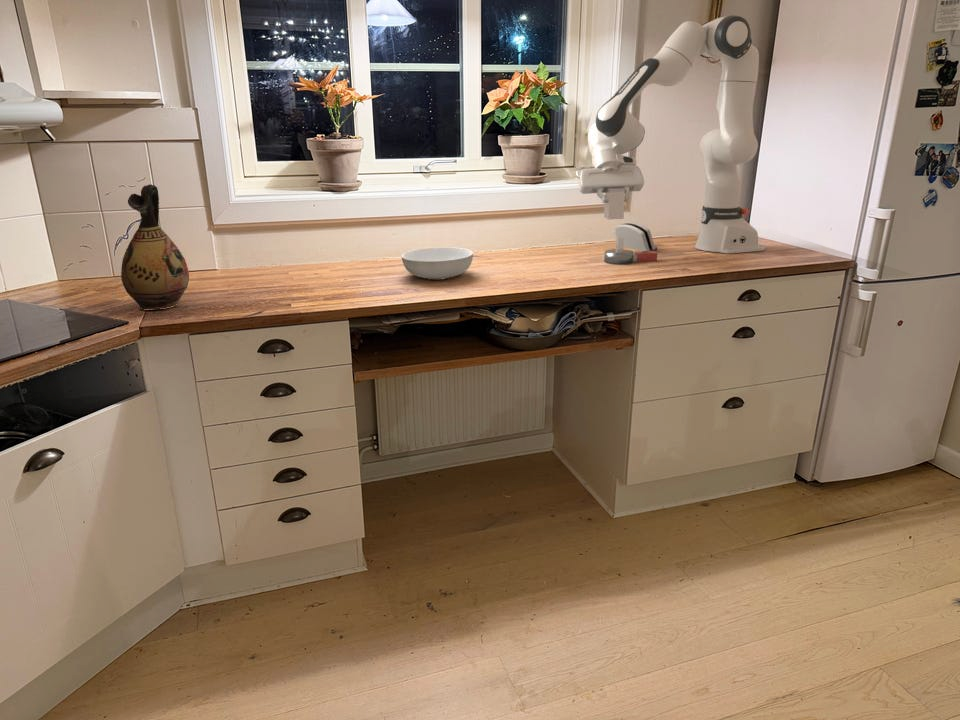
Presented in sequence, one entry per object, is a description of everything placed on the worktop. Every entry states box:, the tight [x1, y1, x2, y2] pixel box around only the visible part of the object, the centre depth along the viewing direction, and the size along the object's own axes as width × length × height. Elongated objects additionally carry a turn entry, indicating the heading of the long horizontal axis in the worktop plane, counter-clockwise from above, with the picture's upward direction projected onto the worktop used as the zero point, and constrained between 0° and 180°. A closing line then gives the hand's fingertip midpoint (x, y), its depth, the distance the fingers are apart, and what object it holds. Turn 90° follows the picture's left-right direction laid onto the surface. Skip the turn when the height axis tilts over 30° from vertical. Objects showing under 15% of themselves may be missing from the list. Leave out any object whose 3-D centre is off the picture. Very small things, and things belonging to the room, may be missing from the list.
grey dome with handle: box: [603, 236, 659, 265], centre depth 215 cm, size 16×9×8 cm, turn 97°
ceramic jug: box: [120, 183, 190, 309], centre depth 169 cm, size 17×15×30 cm
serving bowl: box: [401, 246, 474, 280], centre depth 199 cm, size 21×21×7 cm
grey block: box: [603, 187, 625, 220], centre depth 212 cm, size 5×5×9 cm
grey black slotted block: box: [614, 221, 659, 252], centre depth 235 cm, size 17×5×10 cm, turn 26°
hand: (615, 201), depth 211 cm, fingers closed on grey block, 5 cm apart
